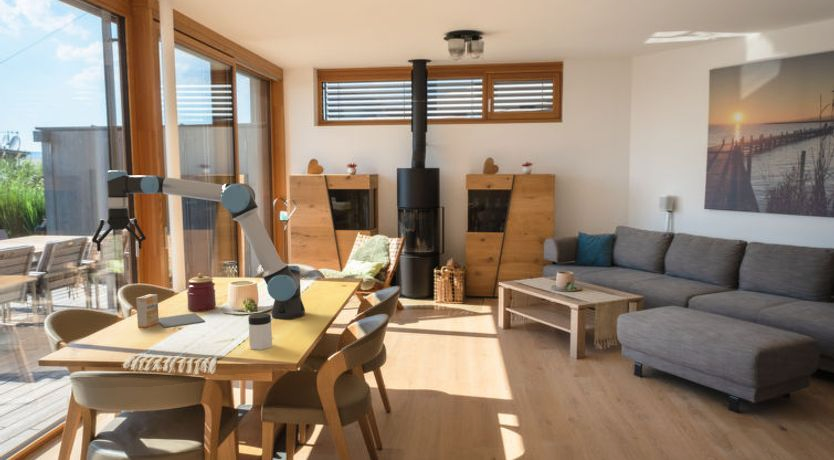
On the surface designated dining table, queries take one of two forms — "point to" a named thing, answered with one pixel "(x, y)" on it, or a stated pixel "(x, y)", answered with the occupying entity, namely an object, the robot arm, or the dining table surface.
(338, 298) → the dining table surface
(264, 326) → the jar
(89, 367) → the dining table surface
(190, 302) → the canister
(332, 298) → the dining table surface
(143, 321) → the supplement box
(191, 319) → the mat
